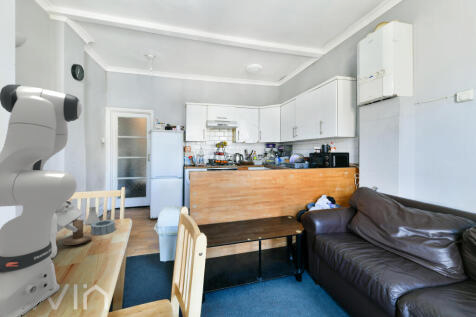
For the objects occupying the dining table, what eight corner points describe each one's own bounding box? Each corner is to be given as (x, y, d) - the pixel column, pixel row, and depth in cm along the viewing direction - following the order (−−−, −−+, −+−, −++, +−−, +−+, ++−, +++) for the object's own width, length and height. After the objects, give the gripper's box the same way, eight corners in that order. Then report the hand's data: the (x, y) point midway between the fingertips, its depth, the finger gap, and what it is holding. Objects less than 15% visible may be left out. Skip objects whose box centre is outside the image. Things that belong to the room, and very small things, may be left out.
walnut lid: (83, 244, 93) (83, 224, 93) (56, 245, 91) (56, 225, 91) (96, 234, 104) (96, 217, 104) (73, 235, 102) (73, 217, 102)
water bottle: (45, 264, 79) (45, 202, 78) (27, 263, 79) (27, 201, 78) (61, 254, 86) (61, 197, 85) (45, 254, 87) (45, 196, 85)
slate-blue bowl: (108, 235, 108) (108, 226, 107) (86, 235, 106) (86, 227, 106) (118, 227, 118) (118, 219, 118) (98, 227, 117) (98, 219, 117)
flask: (92, 225, 120) (92, 209, 119) (82, 224, 121) (82, 208, 121) (102, 221, 127) (102, 206, 126) (93, 220, 128) (93, 205, 128)
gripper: (47, 211, 85) (74, 231, 88) (72, 200, 105) (93, 217, 108) (34, 222, 84) (61, 242, 87) (61, 209, 104) (83, 226, 107)
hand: (79, 228), depth 98 cm, fingers closed on walnut lid, 4 cm apart
